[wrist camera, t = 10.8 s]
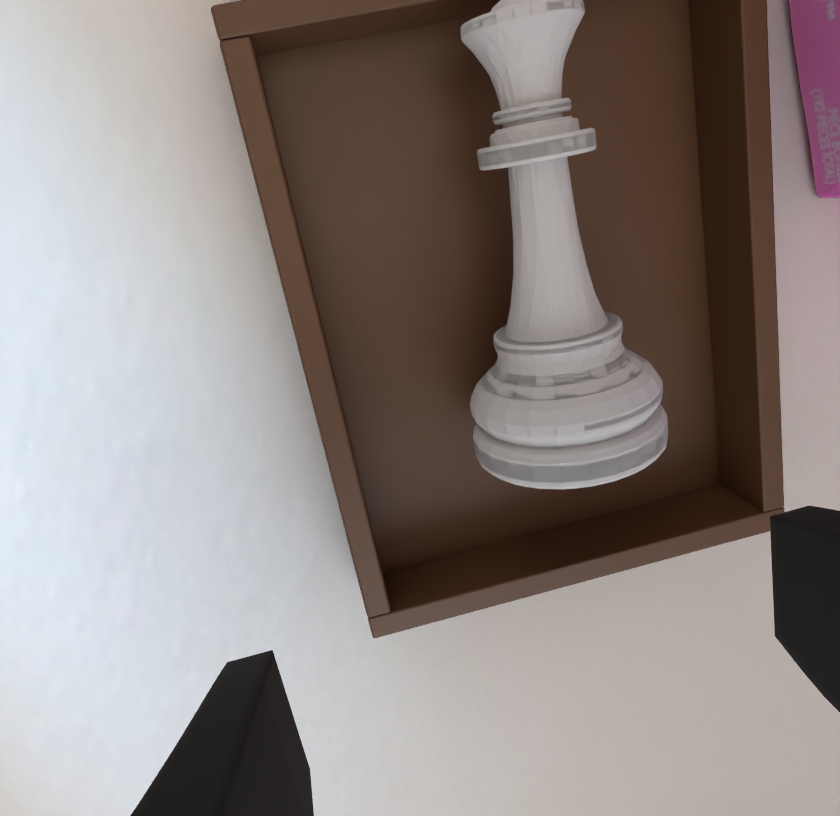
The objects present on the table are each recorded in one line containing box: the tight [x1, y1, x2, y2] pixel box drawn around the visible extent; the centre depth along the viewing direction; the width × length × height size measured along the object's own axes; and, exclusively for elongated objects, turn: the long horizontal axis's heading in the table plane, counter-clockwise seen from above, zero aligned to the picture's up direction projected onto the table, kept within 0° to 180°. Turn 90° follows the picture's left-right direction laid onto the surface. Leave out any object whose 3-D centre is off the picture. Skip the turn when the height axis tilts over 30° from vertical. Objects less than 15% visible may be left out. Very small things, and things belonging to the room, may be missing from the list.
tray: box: [211, 0, 784, 638], centre depth 17 cm, size 14×11×2 cm
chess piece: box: [460, 0, 668, 489], centre depth 14 cm, size 4×4×10 cm
